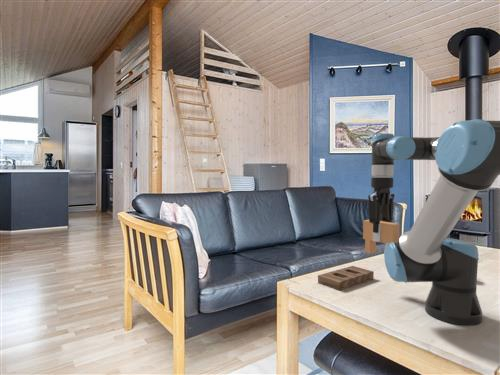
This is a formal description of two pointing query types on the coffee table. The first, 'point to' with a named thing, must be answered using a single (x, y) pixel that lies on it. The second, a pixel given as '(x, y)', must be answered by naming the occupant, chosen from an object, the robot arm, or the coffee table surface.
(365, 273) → the slotted wooden base
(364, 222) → the clip
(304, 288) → the coffee table surface
